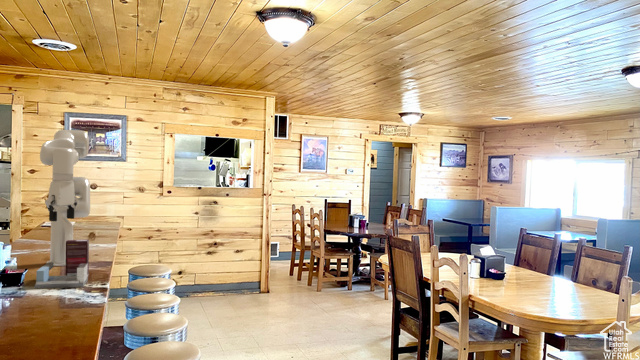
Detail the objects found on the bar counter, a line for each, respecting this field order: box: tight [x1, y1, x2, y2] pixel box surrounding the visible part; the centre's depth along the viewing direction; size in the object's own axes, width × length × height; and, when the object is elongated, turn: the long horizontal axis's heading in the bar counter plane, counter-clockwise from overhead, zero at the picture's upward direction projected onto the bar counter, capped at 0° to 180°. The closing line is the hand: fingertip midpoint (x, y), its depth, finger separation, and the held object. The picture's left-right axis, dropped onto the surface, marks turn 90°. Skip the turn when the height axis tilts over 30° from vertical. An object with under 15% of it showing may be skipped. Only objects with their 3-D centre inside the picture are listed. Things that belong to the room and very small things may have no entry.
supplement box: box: [64, 238, 90, 278], centre depth 204 cm, size 9×5×16 cm, turn 108°
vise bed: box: [34, 263, 89, 289], centre depth 191 cm, size 10×17×8 cm, turn 107°
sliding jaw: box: [35, 262, 54, 283], centre depth 193 cm, size 16×2×5 cm, turn 17°
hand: (61, 219), depth 196 cm, fingers open, 9 cm apart
